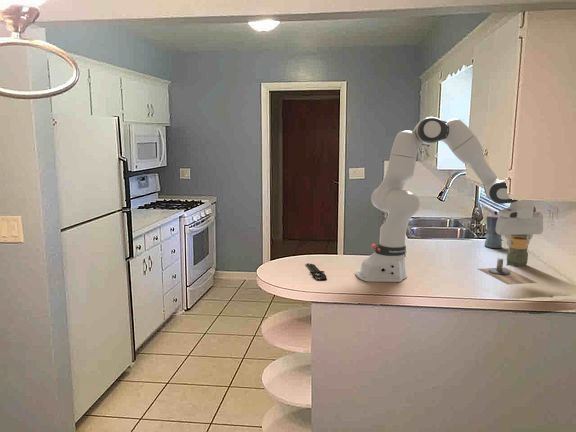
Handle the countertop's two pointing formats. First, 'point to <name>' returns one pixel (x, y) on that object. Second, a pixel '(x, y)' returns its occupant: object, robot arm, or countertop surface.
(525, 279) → the bobbin board
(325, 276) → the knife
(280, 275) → the countertop surface
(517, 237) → the coil ring
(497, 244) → the moka pot
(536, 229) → the robot arm
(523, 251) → the thermos
